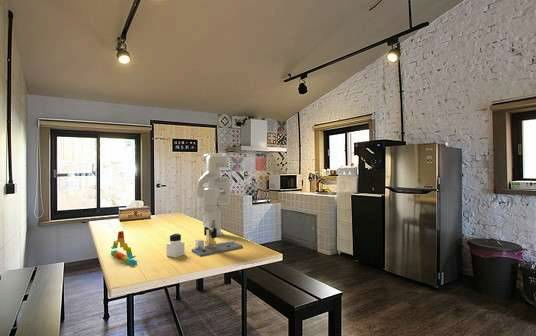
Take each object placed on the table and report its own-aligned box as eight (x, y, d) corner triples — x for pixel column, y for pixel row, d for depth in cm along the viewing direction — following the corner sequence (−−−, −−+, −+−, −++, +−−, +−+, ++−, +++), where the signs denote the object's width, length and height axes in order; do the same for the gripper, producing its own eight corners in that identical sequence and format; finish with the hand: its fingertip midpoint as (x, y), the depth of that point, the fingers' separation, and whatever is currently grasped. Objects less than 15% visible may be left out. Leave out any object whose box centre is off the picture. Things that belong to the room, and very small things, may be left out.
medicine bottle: (184, 254, 173) (184, 233, 173) (175, 257, 167) (174, 236, 167) (176, 252, 177) (175, 232, 177) (166, 256, 170) (166, 234, 170)
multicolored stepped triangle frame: (137, 264, 157) (137, 235, 157) (131, 265, 155) (130, 236, 155) (116, 253, 179) (116, 227, 179) (111, 254, 176) (110, 228, 176)
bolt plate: (191, 251, 178) (191, 240, 178) (232, 243, 195) (232, 233, 195) (200, 256, 169) (200, 244, 169) (242, 247, 186) (242, 237, 186)
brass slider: (205, 245, 183) (204, 229, 183) (212, 244, 186) (212, 228, 186) (211, 249, 176) (211, 231, 176) (219, 247, 179) (218, 230, 179)
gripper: (198, 207, 188) (198, 235, 187) (210, 210, 174) (211, 240, 174) (209, 206, 192) (209, 233, 192) (222, 209, 178) (222, 238, 178)
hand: (210, 236), depth 183 cm, fingers open, 9 cm apart
